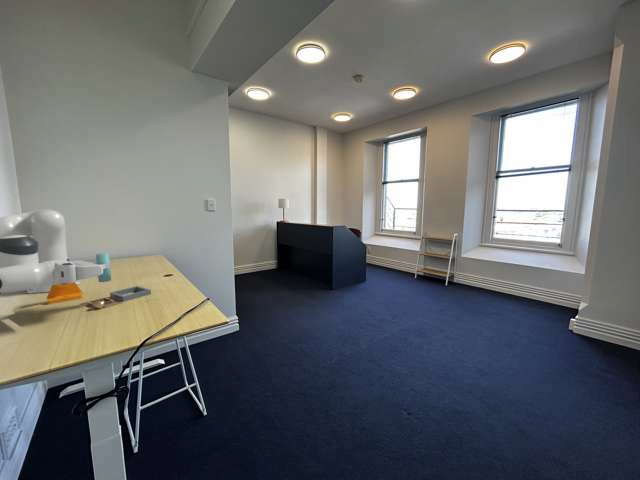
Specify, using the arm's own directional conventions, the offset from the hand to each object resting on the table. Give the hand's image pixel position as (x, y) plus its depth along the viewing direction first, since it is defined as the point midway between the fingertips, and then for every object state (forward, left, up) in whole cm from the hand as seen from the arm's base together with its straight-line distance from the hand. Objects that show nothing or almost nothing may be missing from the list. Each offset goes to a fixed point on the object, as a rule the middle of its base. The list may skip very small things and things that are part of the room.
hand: (106, 264), depth 106 cm
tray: (0, +8, -17) cm, 19 cm away
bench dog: (+5, -5, -16) cm, 17 cm away
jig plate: (0, -3, -17) cm, 17 cm away
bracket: (-19, -8, -17) cm, 27 cm away
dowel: (0, -1, -7) cm, 7 cm away
